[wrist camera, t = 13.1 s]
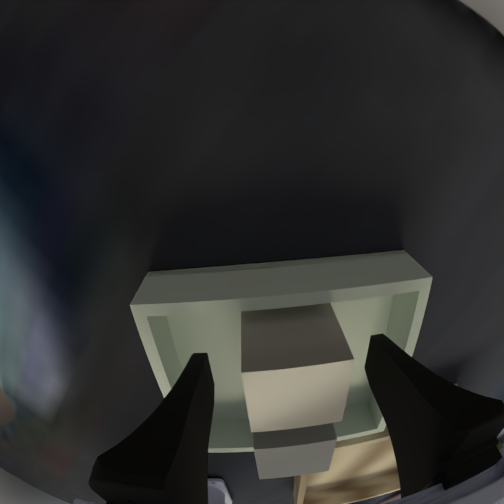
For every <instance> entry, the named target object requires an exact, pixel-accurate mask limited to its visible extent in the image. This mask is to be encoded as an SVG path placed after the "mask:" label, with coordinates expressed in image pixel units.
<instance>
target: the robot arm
mask: <svg viewBox="0 0 504 504" xmlns="http://www.w3.org/2000/svg"><path fill="white" fill-rule="evenodd" d="M364 368H365V372H366V376H367V379H368V382H369V386H370V388H371V391H372V393H373V395H374V398H375V400H376V402H377V404H378V407H379V409H380V411H381V414H382V416H383V418H384V421H385V423H386V426H387V428H388V432H389V435H390V439H391V442H392V446H393V450H394V455H395V459H396V464H397V469H398V475H399V482H400V490H401V499H398V500H395V501H391V502H388V503H385V504H501V503H502V502H504V446H503V447H502V448H500V449H499V450H498V448H497V446H496V445H498V444H499V441H498V439H497V436H498V434H499V433H500V432H501V431H502V429H503V428H504V403H503V402H502V401H501V400H497V399H493V398H489V397H485V396H482V395H479V394H476V393H473V392H470V391H468V390H465V389H463V388H461V387H459V386H456V385H454V384H452V383H450V382H448V381H447V380H445V379H443V378H441V377H440V376H438V375H436V374H435V373H433V372H432V371H430V370H429V369H427V368H426V367H424V366H423V365H422V364H420V363H419V362H418V361H416V360H415V359H414V358H412V357H411V356H410V355H409V354H407V353H406V352H405V351H404V350H402V349H401V348H400V347H399V346H398V345H396V344H395V343H394V342H393V341H392V340H391V339H389V338H388V337H387V336H386V335H384V334H383V333H382V334H376V335H371V337H370V342H369V347H368V352H367V357H366V362H365V366H364ZM214 387H215V384H214V380H213V375H212V371H211V367H210V363H209V358H208V354H207V353H193V354H192V355H191V357H190V359H189V361H188V363H187V364H186V366H185V368H184V370H183V371H182V373H181V375H180V376H179V378H178V379H177V381H176V383H175V384H174V386H173V387H172V389H171V390H170V392H169V393H168V394H167V396H166V397H165V398H164V400H163V401H162V402H161V404H160V405H159V406H158V407H157V408H156V410H155V411H154V412H153V413H152V414H151V415H150V416H149V417H148V418H147V419H146V420H145V421H144V422H143V423H142V424H141V425H140V426H139V427H138V428H137V429H136V430H135V431H134V432H133V433H131V434H130V435H129V436H128V437H126V438H125V439H124V440H123V441H121V442H120V443H119V444H117V445H116V446H114V447H113V448H111V449H110V450H108V451H106V452H105V453H103V454H101V455H100V456H98V457H97V459H96V461H95V463H94V466H93V469H92V472H91V476H90V479H89V486H90V487H91V489H92V490H93V491H94V492H96V493H97V494H98V495H99V496H100V497H102V498H103V499H104V500H105V501H107V503H106V504H232V503H233V500H232V498H231V496H230V494H229V492H228V489H227V487H226V485H225V483H224V480H223V479H218V478H208V446H209V438H210V431H211V424H212V417H213V409H214ZM73 504H95V503H91V502H88V501H84V500H81V499H77V498H76V499H74V502H73Z"/></svg>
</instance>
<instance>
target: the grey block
mask: <svg viewBox="0 0 504 504" xmlns="http://www.w3.org/2000/svg"><path fill="white" fill-rule="evenodd" d="M336 441H337V437H336V433H335V429H334V425H333V423H328V424H322V425H316V426H309V427H302V428H294V429H285V430H275V431H264V432H253V443H254V454H255V459H256V464H257V469H258V474H259V479H270V478H281V477H290V476H298V475H306V474H312V473H319V472H325V471H329V468H330V464H331V460H332V457H333V453H334V449H335V445H336Z"/></svg>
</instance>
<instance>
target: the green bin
mask: <svg viewBox="0 0 504 504" xmlns="http://www.w3.org/2000/svg"><path fill="white" fill-rule="evenodd" d="M431 282H432V276H431V275H430V274H429V273H428V272H427V271H426V270H425V269H424V268H423V267H422V266H421V265H419V264H418V263H417V262H416V261H415V260H414V259H413V258H412V257H411V256H410V255H409V254H408V253H407V252H405V251H404V250H399V251H389V252H378V253H368V254H357V255H346V256H335V257H324V258H313V259H301V260H290V261H278V262H266V263H254V264H242V265H230V266H217V267H205V268H192V269H179V270H165V271H152V272H148V273H147V275H146V276H145V278H144V280H143V282H142V284H141V285H140V287H139V289H138V291H137V293H136V294H135V296H134V298H133V300H132V302H131V304H130V307H131V310H132V313H133V317H134V320H135V323H136V326H137V329H138V331H139V334H140V337H141V340H142V343H143V346H144V348H145V351H146V354H147V357H148V359H149V362H150V364H151V367H152V370H153V372H154V375H155V377H156V380H157V382H158V385H159V387H160V389H161V392H162V394H163V397H164V398H165V397H166V396H167V394H168V393H169V392H170V390H171V389H172V387H173V386H174V384H175V383H176V381H177V379H178V378H179V376H180V375H181V373H182V371H183V370H184V368H185V366H186V364H187V363H188V361H189V359H190V357H191V355H192V354H193V353H207V354H208V358H209V363H210V367H211V371H212V375H213V380H214V384H215V387H214V409H213V417H212V424H211V431H210V438H209V446H208V453H225V452H252V451H254V443H253V432H251V429H250V423H249V417H248V411H247V405H246V399H245V393H244V387H243V381H242V375H241V311H253V310H265V309H276V308H287V307H297V306H307V305H316V304H325V303H330V304H331V306H332V308H333V310H334V313H335V315H336V317H337V320H338V322H339V324H340V326H341V329H342V331H343V333H344V336H345V338H346V340H347V343H348V345H349V347H350V350H351V352H352V355H353V357H354V364H353V370H352V375H351V380H350V386H349V391H348V395H347V400H346V405H345V409H344V414H343V418H342V421H340V422H334V423H333V425H334V429H335V433H336V437H337V441H341V440H347V439H352V438H356V437H361V436H365V435H370V434H374V433H378V432H382V431H384V429H385V427H386V423H385V421H384V418H383V416H382V414H381V411H380V409H379V407H378V404H377V402H376V400H375V398H374V395H373V393H372V391H371V388H370V386H369V382H368V379H367V376H366V372H365V368H364V366H365V362H366V357H367V352H368V347H369V342H370V337H371V335H376V334H382V333H383V334H384V335H386V336H387V337H388V338H389V339H391V340H392V341H393V342H394V343H395V344H396V345H398V346H399V347H400V348H401V349H402V350H404V351H405V352H406V353H407V354H409V355H410V356H411V357H412V355H413V352H414V349H415V345H416V342H417V338H418V335H419V331H420V328H421V324H422V320H423V317H424V313H425V309H426V305H427V300H428V296H429V292H430V287H431Z"/></svg>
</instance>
